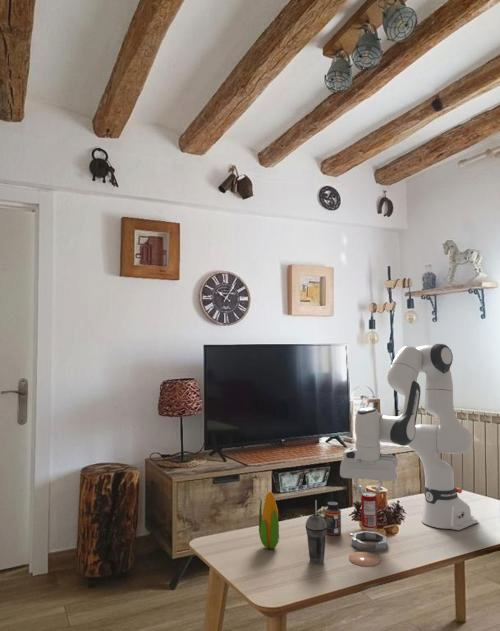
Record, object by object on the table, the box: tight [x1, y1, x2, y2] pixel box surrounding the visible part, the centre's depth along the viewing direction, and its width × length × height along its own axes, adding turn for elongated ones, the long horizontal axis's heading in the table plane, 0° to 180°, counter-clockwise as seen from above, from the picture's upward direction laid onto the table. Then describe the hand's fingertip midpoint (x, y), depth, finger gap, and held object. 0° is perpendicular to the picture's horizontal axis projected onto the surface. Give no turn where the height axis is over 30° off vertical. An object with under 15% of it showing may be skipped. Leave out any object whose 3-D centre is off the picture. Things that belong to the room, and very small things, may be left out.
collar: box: [349, 530, 388, 553], centre depth 183 cm, size 13×12×3 cm
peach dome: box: [348, 551, 380, 567], centre depth 170 cm, size 10×10×1 cm
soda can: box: [360, 491, 379, 530], centre depth 184 cm, size 6×6×12 cm
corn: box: [258, 491, 280, 550], centre depth 180 cm, size 7×8×20 cm
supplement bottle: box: [325, 501, 342, 536], centre depth 194 cm, size 6×6×11 cm
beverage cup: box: [305, 499, 327, 566], centre depth 169 cm, size 7×7×20 cm
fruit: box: [317, 505, 328, 519], centre depth 203 cm, size 9×9×8 cm
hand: (368, 491), depth 184 cm, fingers open, 5 cm apart
